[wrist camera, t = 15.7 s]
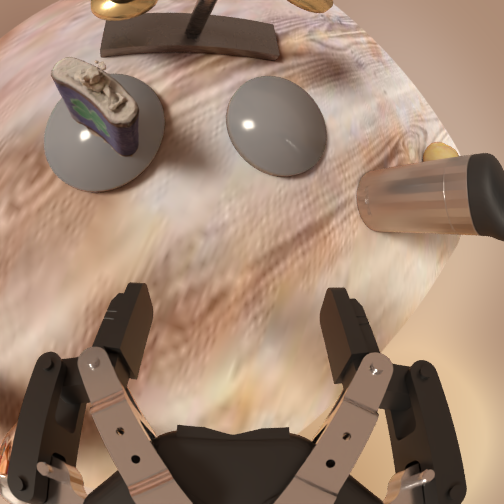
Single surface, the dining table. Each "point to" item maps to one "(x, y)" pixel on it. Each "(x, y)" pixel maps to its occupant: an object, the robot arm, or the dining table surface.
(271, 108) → the gray domed disc
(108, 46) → the balance
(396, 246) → the dining table surface
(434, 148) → the fruit
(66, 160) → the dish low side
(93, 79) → the flask
